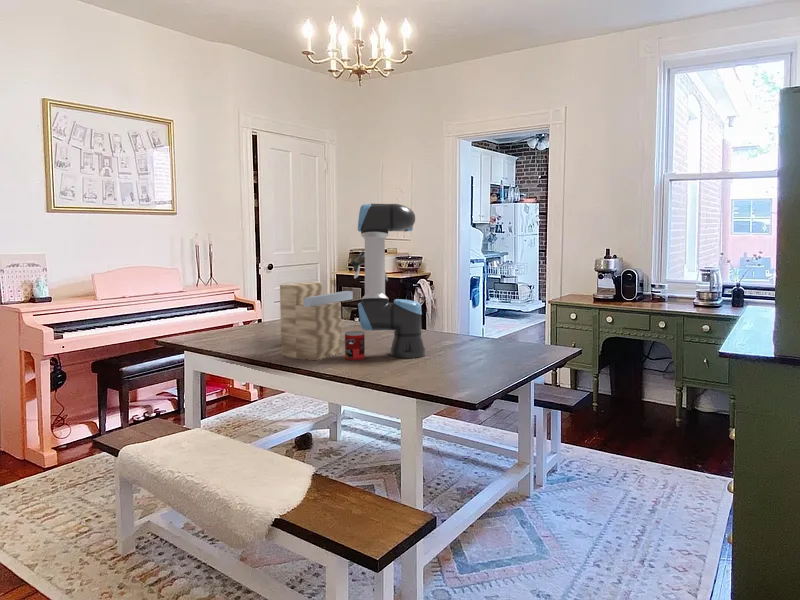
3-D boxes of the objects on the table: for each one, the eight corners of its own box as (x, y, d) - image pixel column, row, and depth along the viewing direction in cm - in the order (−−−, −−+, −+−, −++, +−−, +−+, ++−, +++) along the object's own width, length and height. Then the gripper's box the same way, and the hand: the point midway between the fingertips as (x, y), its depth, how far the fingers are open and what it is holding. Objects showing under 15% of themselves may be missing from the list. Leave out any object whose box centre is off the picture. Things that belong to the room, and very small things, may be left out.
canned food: (343, 357, 249) (342, 331, 248) (361, 356, 252) (361, 330, 251) (348, 361, 242) (347, 334, 241) (366, 359, 245) (366, 333, 244)
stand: (308, 348, 267) (307, 281, 264) (341, 352, 258) (340, 283, 255) (281, 356, 252) (279, 285, 248) (315, 360, 243) (314, 287, 239)
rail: (346, 298, 269) (346, 290, 269) (352, 299, 267) (352, 291, 267) (303, 306, 243) (303, 297, 243) (310, 306, 241) (310, 298, 241)
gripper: (388, 267, 304) (383, 299, 291) (348, 243, 294) (341, 275, 280) (397, 260, 299) (393, 292, 286) (357, 235, 289) (350, 267, 275)
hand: (367, 283), depth 283 cm, fingers open, 13 cm apart
